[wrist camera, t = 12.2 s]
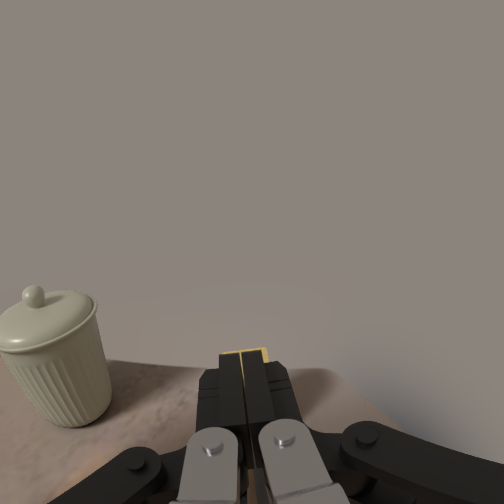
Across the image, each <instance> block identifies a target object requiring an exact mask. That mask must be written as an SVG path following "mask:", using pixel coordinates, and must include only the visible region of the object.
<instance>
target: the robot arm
mask: <svg viewBox="0 0 504 504" xmlns="http://www.w3.org/2000/svg"><path fill="white" fill-rule="evenodd" d="M241 357H242V367H243V373H242V367H241V360H240V354H239V352H238V353H229V354H221V355H219V368H218V369H207V370H205V372H204V373H203V375H202V376H201V378H200V379H199V391H198V405H197V419H196V432H195V434H194V435H192V437H191V438H190V439H189V441H188V444H187V446H185V447H184V448H182V449H180V450H177V451H174V452H170V453H167V454H163V455H158V454H157V453H156V452H155V451H154V450H152V449H150V448H146V447H133V448H129V449H127V450H125V451H123V452H121V453H120V454H119V455H117V456H116V457H115V458H113V459H112V460H111V461H109V462H108V463H106V464H105V465H104V466H102V467H101V468H99V469H98V470H97V471H95V472H94V473H92V474H91V475H89V476H88V477H87V478H85V479H84V480H82V481H81V482H79V483H78V484H76V485H75V486H73V487H72V488H70V489H69V490H67V491H66V492H64V493H63V494H61V495H60V496H58V497H57V498H55V499H54V500H52V501H51V502H49V503H47V504H249V476H248V470H249V469H255V467H254V459H253V451H252V444H253V450H254V456H255V461H256V467H257V468H263V472H264V478H265V484H266V490H267V494H268V497H269V501H270V504H504V464H500V463H496V462H493V461H489V460H485V459H481V458H478V457H474V456H471V455H468V454H464V453H461V452H457V451H455V450H451V449H448V448H445V447H442V446H439V445H436V444H433V443H430V442H427V441H424V440H422V439H419V438H416V437H414V436H411V435H408V434H406V433H403V432H400V431H398V430H395V429H392V428H390V427H387V426H385V425H382V424H380V423H377V422H373V421H361V422H357V423H354V424H352V425H350V426H349V427H347V428H346V429H345V430H344V432H343V433H342V434H340V433H321V432H317V431H314V430H312V429H310V428H309V427H308V426H306V425H305V424H304V422H303V421H302V418H301V415H300V412H299V409H298V405H297V402H296V399H295V396H294V392H293V389H292V386H291V383H290V380H289V376H288V373H287V370H286V368H285V367H284V366H283V365H282V364H280V363H279V362H278V361H274V362H267V363H264V361H263V356H262V351H261V350H253V351H246V352H241ZM243 376H244V380H243ZM244 385H245V386H244ZM250 433H251V435H250ZM251 439H252V443H251Z"/></svg>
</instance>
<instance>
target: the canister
mask: <svg viewBox="0 0 504 504" xmlns="http://www.w3.org/2000/svg"><path fill="white" fill-rule="evenodd" d="M22 299H23V301H21V302H19V303H17V304H15V305H13V306H12V307H10V308H9V309H7V310H6V311H5V312H4V313H3V314H2V315H1V316H0V354H1V356H2V358H3V360H4V362H5V363H6V365H7V366H8V368H9V370H10V371H11V373H12V374H13V376H14V378H15V379H16V381H17V382H18V384H19V385H20V387H21V388H22V390H23V391H24V393H25V394H26V395H27V397H28V398H29V400H30V401H31V402H32V404H33V405H34V406H35V407H36V409H37V410H38V411H39V412H40V413H41V415H42V416H43V417H44V418H45V419H47V420H48V421H50V422H51V423H53V424H55V425H57V426H60V427H61V426H62V427H65V428H66V427H68V428H72V427H75V428H76V427H79V426H80V427H81V426H83V425H87V424H88V423H92V421H94V420H96V419H97V418H98V417H100V416H101V415H102V414H103V413H104V412H105V410H106V409H107V408H108V406H109V404H110V401H111V397H112V387H111V380H110V376H109V372H108V368H107V363H106V359H105V355H104V351H103V347H102V343H101V338H100V334H99V329H98V324H97V320H96V315H95V314H96V311H97V301H96V300H95V298H93V297H92V296H90V295H88V294H84V293H81V292H78V291H72V290H60V291H52V292H47V293H44V291H43V289H42V288H41V287H40V286H38V285H31V286H29V287H27V288H26V289H25V290H24V291H23V293H22Z"/></svg>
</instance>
